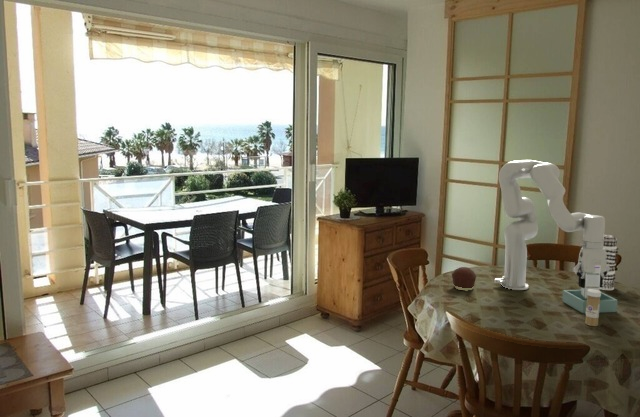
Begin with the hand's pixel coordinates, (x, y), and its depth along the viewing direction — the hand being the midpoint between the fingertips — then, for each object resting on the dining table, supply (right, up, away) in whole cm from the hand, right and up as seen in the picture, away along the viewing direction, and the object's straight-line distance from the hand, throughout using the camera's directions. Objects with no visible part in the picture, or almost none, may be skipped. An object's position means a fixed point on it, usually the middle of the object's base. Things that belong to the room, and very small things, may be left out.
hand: (590, 286), depth 210 cm
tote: (0, -9, +1) cm, 9 cm away
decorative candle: (+21, -5, +27) cm, 34 cm away
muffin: (-45, -6, +27) cm, 53 cm away
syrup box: (0, -5, +1) cm, 5 cm away
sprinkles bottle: (-9, -12, -18) cm, 24 cm away
